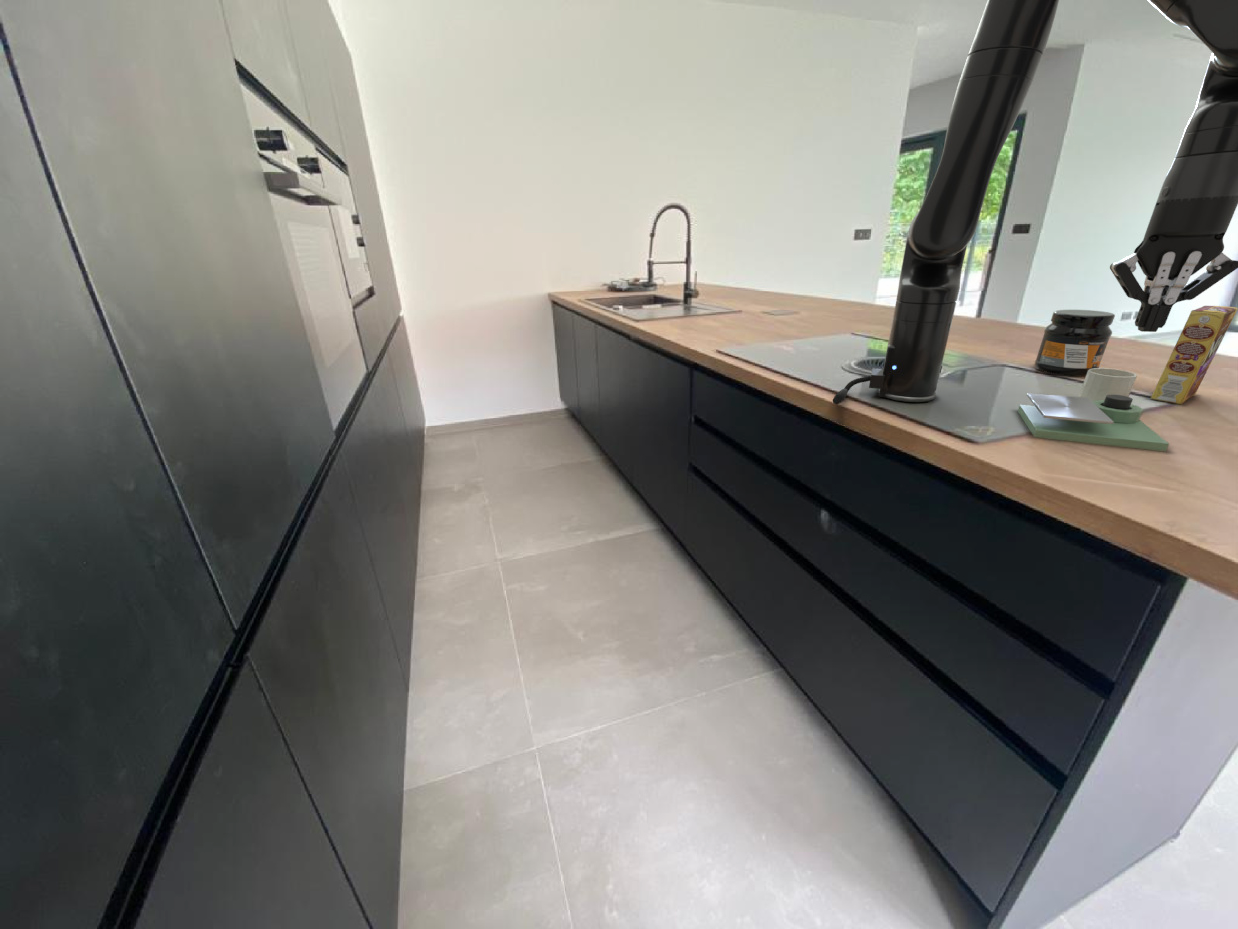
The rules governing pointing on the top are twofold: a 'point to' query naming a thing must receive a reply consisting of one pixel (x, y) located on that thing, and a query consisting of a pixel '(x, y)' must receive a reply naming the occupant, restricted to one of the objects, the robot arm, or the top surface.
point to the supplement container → (1074, 342)
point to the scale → (1096, 428)
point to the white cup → (1107, 383)
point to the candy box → (1193, 353)
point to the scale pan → (1068, 408)
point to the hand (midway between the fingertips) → (1146, 330)
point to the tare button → (1117, 402)
